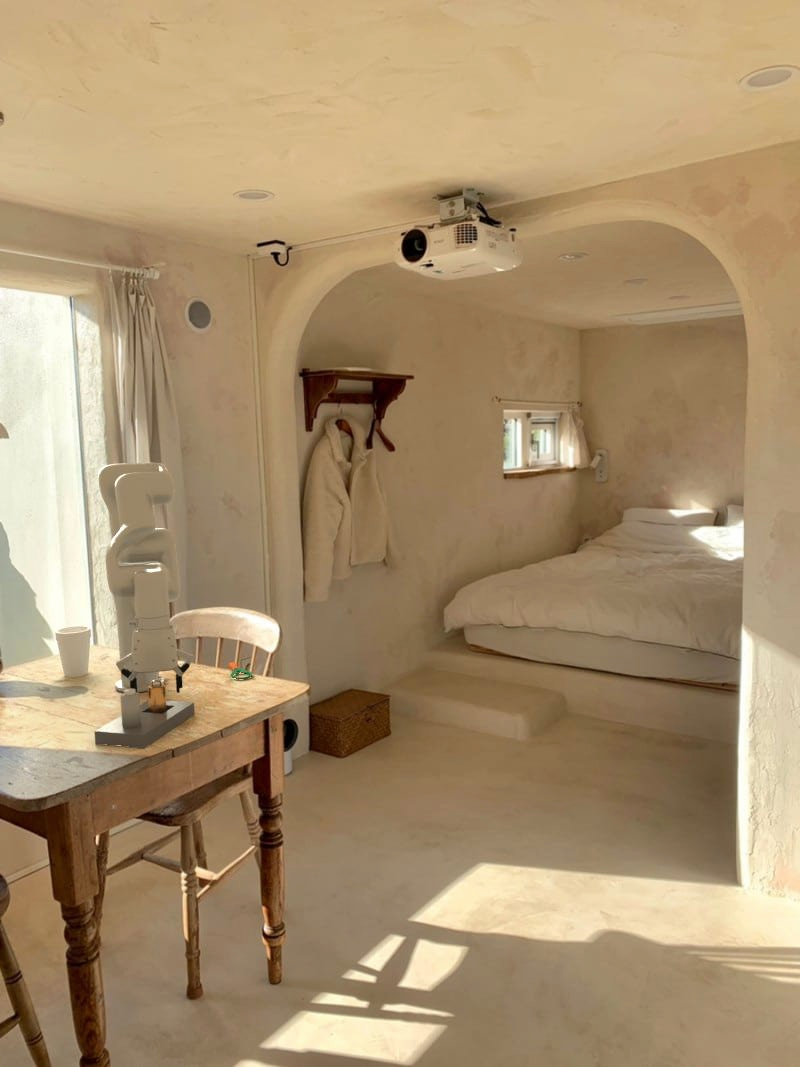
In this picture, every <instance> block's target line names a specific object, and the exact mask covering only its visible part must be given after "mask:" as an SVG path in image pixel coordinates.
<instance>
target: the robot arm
mask: <svg viewBox="0 0 800 1067" xmlns="http://www.w3.org/2000/svg"><path fill="white" fill-rule="evenodd" d="M97 483H98V488H99V492H100V494H101V497H102V500H103V502H104V504H105V506H106V509H107V510H108V513H109V515H110V523H111V533H112V540H110V543H109V544H108V547H107V550H106V553H105V554H106V555H105V569H106V576H107V578H106V579H107V584H108V585H107V586H108V589H109V592H110V593H111V595H112V597H113V601H114V605H115V613H116V622H117V634H118V648H119V649H118V650H119V660H117V661H116V662H115V665H116V667H117V669H118V670H119V672H120V680H118V681H117V682H115V690H116V691H118V692H121V693H124V690H126V689H135V692H138V693H143V692H148V686H149V685H151V680H153V679H161V680H162V684H165V678H164V677H162V676H160V674H159V673H160V672H169V671H173V672H174V673H175V686H176V688H175V689H176V693H178V694H180V693H181V690H180V689H183V676H184V674H185V673H186V671H187V670H189V669H190V666H191V664H192V662H193V660H194V655H193V654H191V653H189V652H187V651H184V650H181V649H179V648H178V647H177V645H178V644H177V637H176V632H175V629H174V626H173V625H171V619H170V603H172V602H176V601H177V600H179V597H180V596H181V579H180V570H179V569H180V568H179V561H178V553H177V552H178V551H177V546H176V541H175V536H174V535H173V533H172V532H171V530H170V529H168V528H157V523H156V517H155V516H156V515H155V512H154V506H153V505H168V504H171V503H172V502H174V500H175V495H176V487H175V483H174V480H173V477H172V475H171V473H170V471H169V470H168V469H167V467H166V466H165V465H164V464H163V463H161V462H137V463H136V462H135V463H134V462H127V463H124V462H123V463H112V464H107V465H105V466H103V467H101V468H100V469H99V470H98V474H97ZM179 657H180V658H183V659H185V661H184V663H183V664H182V665H181V666H180V665H179Z"/></svg>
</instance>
